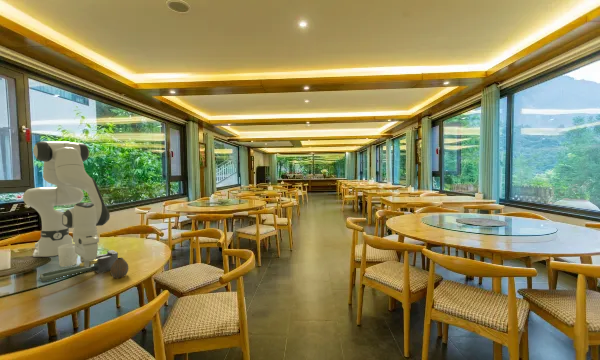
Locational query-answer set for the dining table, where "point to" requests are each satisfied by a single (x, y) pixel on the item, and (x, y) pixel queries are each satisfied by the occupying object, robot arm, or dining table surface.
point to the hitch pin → (89, 263)
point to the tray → (64, 272)
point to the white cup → (67, 255)
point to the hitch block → (105, 261)
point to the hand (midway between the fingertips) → (85, 265)
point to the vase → (119, 268)
